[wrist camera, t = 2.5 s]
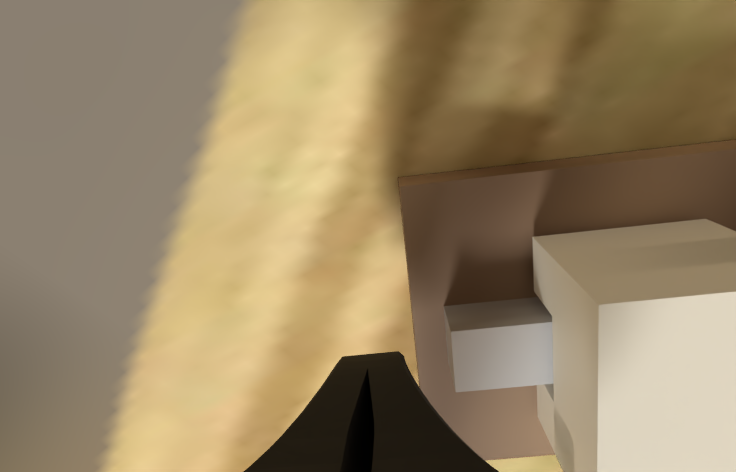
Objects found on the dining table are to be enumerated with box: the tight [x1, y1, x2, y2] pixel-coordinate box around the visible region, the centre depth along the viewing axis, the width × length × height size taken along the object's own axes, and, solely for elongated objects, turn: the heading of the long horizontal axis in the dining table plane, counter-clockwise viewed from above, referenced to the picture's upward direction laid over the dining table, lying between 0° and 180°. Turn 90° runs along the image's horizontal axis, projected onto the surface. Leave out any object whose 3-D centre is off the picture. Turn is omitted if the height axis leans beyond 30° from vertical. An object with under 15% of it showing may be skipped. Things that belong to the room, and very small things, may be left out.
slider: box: [532, 219, 736, 472], centre depth 11 cm, size 4×5×4 cm
